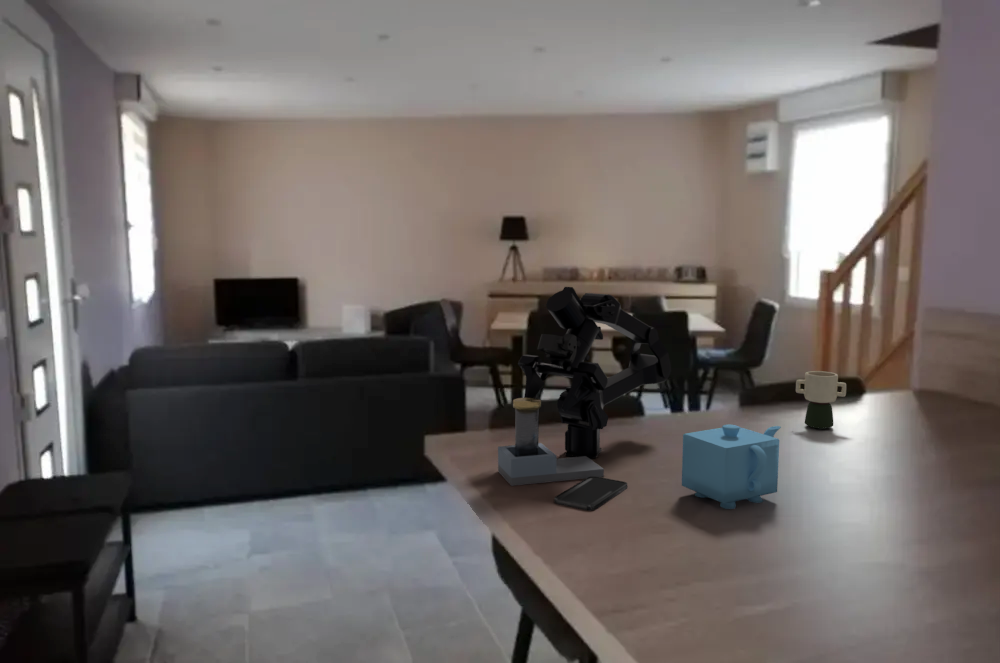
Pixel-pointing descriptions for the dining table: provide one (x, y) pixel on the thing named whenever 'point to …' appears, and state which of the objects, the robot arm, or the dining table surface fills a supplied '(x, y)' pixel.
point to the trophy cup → (820, 397)
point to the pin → (526, 426)
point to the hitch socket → (543, 467)
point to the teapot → (731, 464)
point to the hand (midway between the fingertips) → (543, 406)
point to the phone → (590, 493)
